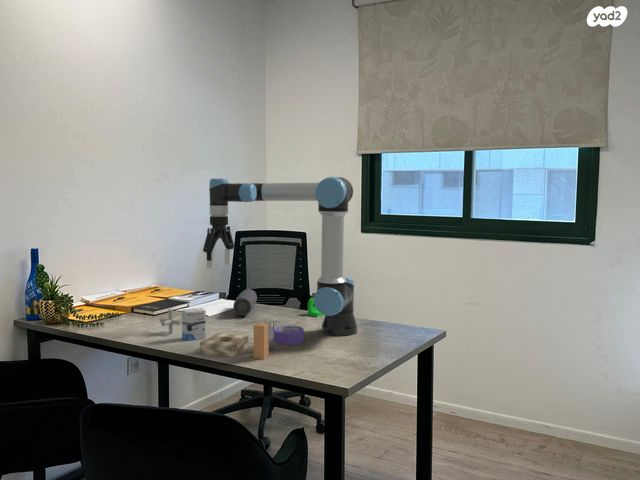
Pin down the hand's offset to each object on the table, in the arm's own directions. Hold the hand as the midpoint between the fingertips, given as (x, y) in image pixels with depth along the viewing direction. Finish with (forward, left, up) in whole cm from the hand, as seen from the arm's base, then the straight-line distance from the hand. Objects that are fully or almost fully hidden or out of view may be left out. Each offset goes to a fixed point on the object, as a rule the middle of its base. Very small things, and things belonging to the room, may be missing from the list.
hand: (219, 266), depth 242 cm
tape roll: (-34, +6, -28) cm, 44 cm away
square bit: (-32, +29, -27) cm, 51 cm away
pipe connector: (+16, +11, -27) cm, 34 cm away
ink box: (+4, +15, -28) cm, 32 cm away
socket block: (-15, +25, -27) cm, 40 cm away
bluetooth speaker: (+3, -34, -28) cm, 44 cm away
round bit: (-31, +20, -27) cm, 45 cm away
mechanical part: (-31, -43, -28) cm, 60 cm away
